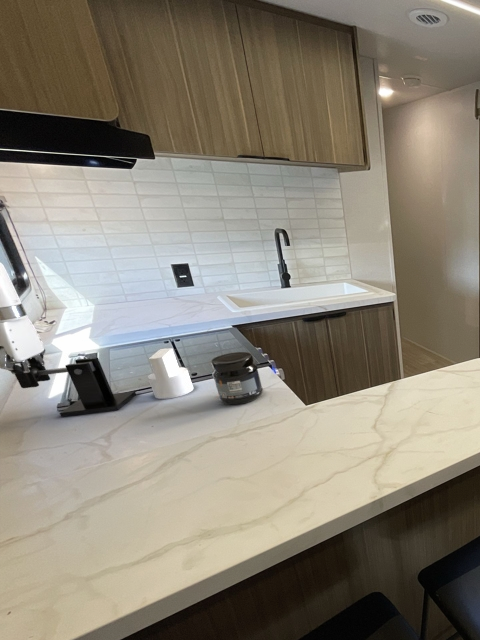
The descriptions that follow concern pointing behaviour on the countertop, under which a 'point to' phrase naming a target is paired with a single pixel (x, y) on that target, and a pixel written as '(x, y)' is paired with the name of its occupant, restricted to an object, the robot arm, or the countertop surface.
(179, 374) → the base with upright slab
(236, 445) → the countertop surface
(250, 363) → the supplement container
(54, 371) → the tap lever
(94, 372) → the bracket
